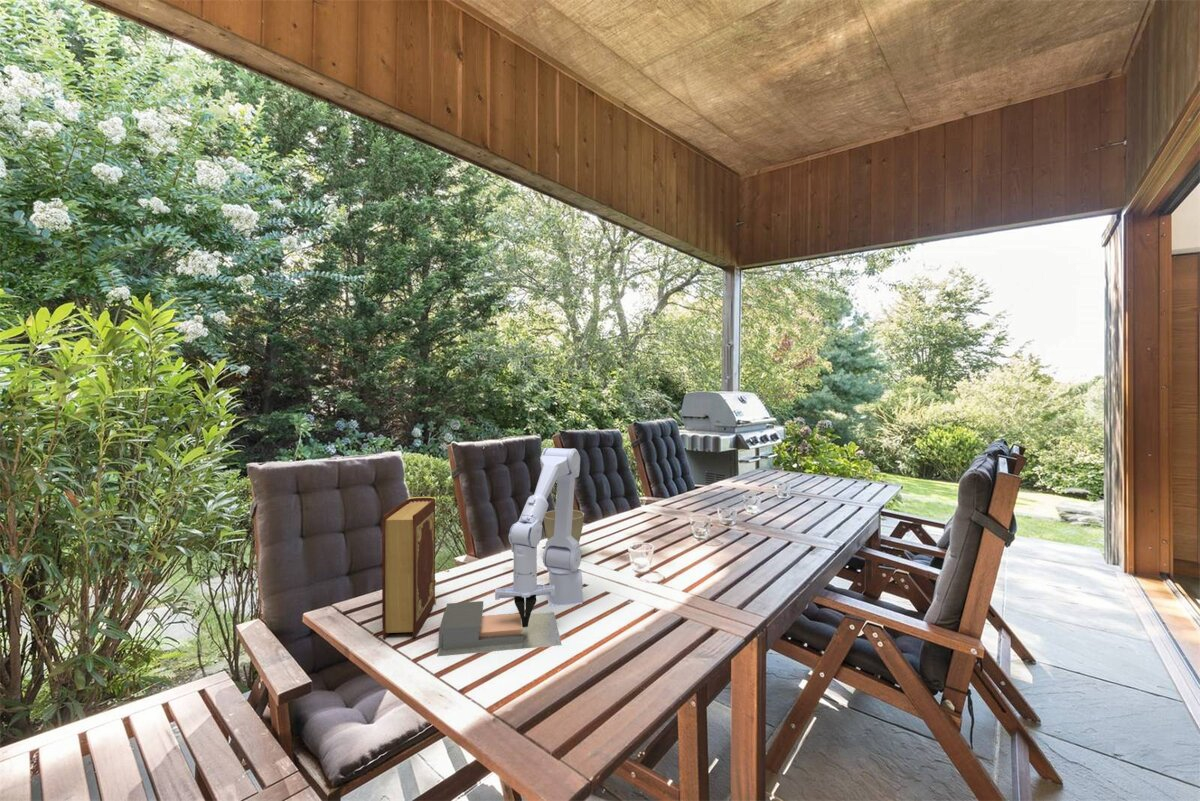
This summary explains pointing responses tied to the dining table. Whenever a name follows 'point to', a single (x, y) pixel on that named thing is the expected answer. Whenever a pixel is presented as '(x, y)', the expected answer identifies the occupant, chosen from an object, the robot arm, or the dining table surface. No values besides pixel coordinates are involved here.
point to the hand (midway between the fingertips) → (525, 625)
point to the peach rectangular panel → (500, 625)
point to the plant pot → (576, 524)
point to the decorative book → (408, 565)
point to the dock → (464, 636)
